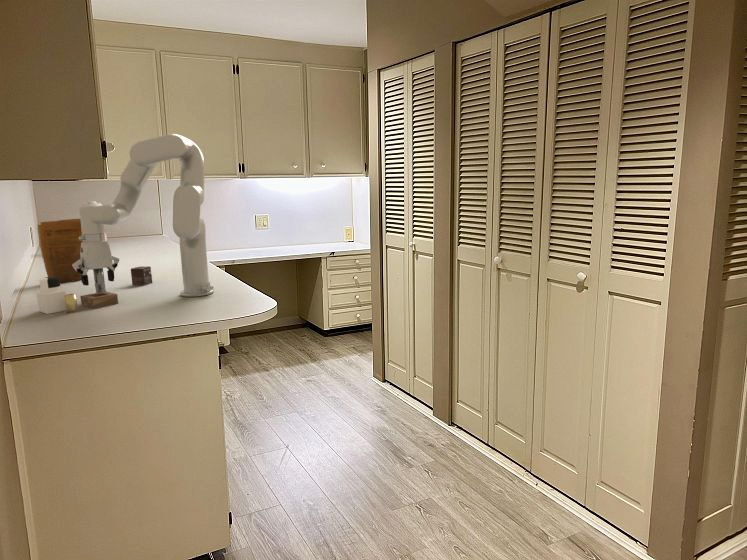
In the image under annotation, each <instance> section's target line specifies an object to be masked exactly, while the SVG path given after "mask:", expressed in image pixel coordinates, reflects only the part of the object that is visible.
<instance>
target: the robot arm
mask: <svg viewBox="0 0 747 560" xmlns="http://www.w3.org/2000/svg"><path fill="white" fill-rule="evenodd" d="M129 158H130V159H129V160H128V162H127V164H126V166H125V168H124V169H123V171H122V173H121V174H120V177H119V181H120V186H119V187H120V189H119V191H118V193H117V195H116V197H115V198H114V199H113V201H112V203H109V204H102V206H99V205H83V206H82V205H81V206H80V207H79V209H78V210H79V212H78V213H79V219H80V221H81V230H82V236H80V237H79V240H82V241H83V243H81V251H80V257H81V259H80V260H78V261H77V262H75V263H74V264H72V266H73V268H74V269H75V271H76V272H78V273H79V274H80V275H81V284H82V285H83V286H86V287H87V286H89V277H88V276H89V275H88V272H89V271H90V270H91V271H93V269H100V268H103V269H107V271H106V272H107V280H108V282H115V270H116V269H117V267H118V265H119V262H120V258H119V257H116V256H113V254H112V251H111V247H110V245H109V242H108V240H107V241H105V234H104V232H105V225H108V226H111V225H112V226H114V225H116V224H117V225H118V224H120V223H123V222H125V221H126V220H127V219H128V218H129V216H130V215H131V214H132V211H134V208H135V206H136V205H137V202H138V200H139V199H140V196H141V194H142V192H143V188H144V187H145V185H146V183H147V181H148V179H150V176H151V175H152V173H153V171H154V170H155V168H156V166H157V165H158V163H160V162H161V163H162V162H165V161H169V160H172V159H178V160H179V161H180V173H179V174H180V176H179V177H180V179H179V180H180V181H179V183H180V185H179V186H178V187H177V188H176V189H175V191H174V194H173V199H172V230H173V232H174V234H175V236H177V237H178V238H179V250H180V251H179V252H180V253H179V254H180V262H181V273H182V283H183V290H180V292H179V295H180V296H182V297H188V298H191V297H203V296H208V295H212V294H213V293H214V292H215V289H214V286H213V285H211V282H210V279H209V266H208V257H207V242H206V240H207V239H206V224H205V220H204V219H203V218H204V217H202V216H201V206H202V205H203V203H204V200H205V159H204V155H203V153H202V150H201V149H200V147H199V146H198V145H197V144H196V143H195V142H194V141H192V140H191V139H189V138H187V137H186V136H183V135H180V134H177V133H176V134H175V133H169V134H165V135H160V136H157V137H154V138H153V137H152V138H149V139H145V140H141V141H137V142H135V143H134V144H133V145H132V146H131V147H130V149H129ZM80 264H81V266H82V269H79V267H78V266H79V265H80ZM86 273H87V275H86Z"/></svg>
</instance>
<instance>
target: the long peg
mask: <svg viewBox="0 0 747 560" xmlns="http://www.w3.org/2000/svg"><path fill="white" fill-rule="evenodd" d="M92 272H93V280H94V281H93V282H94V287H95V288H94V289H95V293H99V292H104V291H105V292H107V289H106V284H105V275H104V274H105V273H104V268H100V269H92Z"/></svg>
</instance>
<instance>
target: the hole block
mask: <svg viewBox="0 0 747 560" xmlns="http://www.w3.org/2000/svg"><path fill="white" fill-rule="evenodd" d="M118 298H119V297H118V293H115V292H114V293H113V292H110V291H106V292H105V291H104V292H99V293H96V292H94V293H89V294H84V295H80V303H81V306H83V307H87V308H90V309H97V308H101V307H108V306H112V305H111V304H113V305H116V303H117V304H119V299H118ZM107 305H108V306H107Z"/></svg>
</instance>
